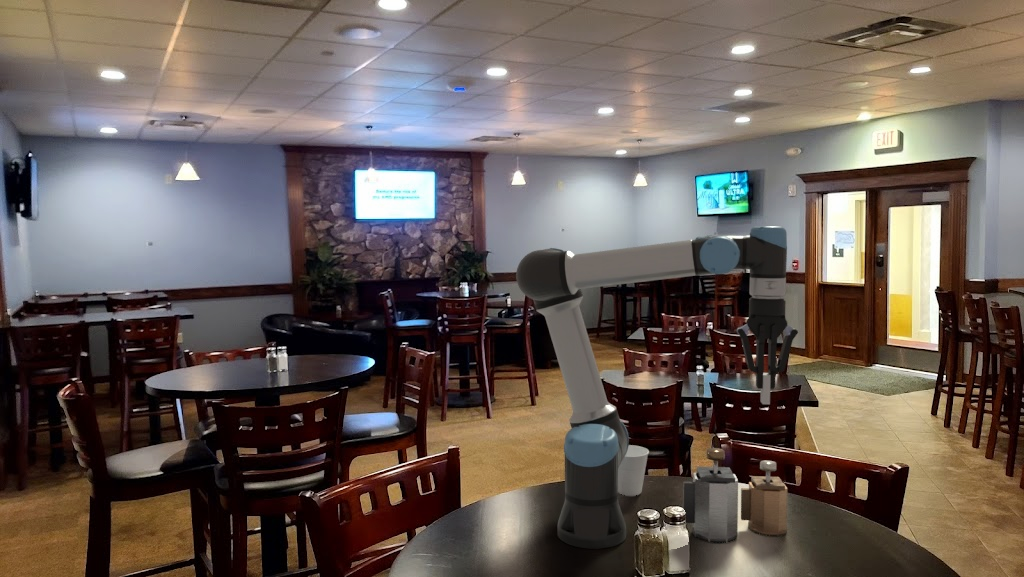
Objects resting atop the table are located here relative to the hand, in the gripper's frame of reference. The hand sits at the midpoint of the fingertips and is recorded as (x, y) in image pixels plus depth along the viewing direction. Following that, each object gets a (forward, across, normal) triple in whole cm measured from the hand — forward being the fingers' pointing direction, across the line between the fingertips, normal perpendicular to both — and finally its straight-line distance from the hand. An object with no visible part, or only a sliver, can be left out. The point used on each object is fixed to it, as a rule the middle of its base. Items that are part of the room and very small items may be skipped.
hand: (765, 402), depth 161 cm
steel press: (+29, -11, -4) cm, 31 cm away
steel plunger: (+23, -11, -4) cm, 26 cm away
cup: (+29, -29, +20) cm, 46 cm away
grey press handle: (+24, +1, 0) cm, 24 cm away
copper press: (+29, +1, 0) cm, 29 cm away
